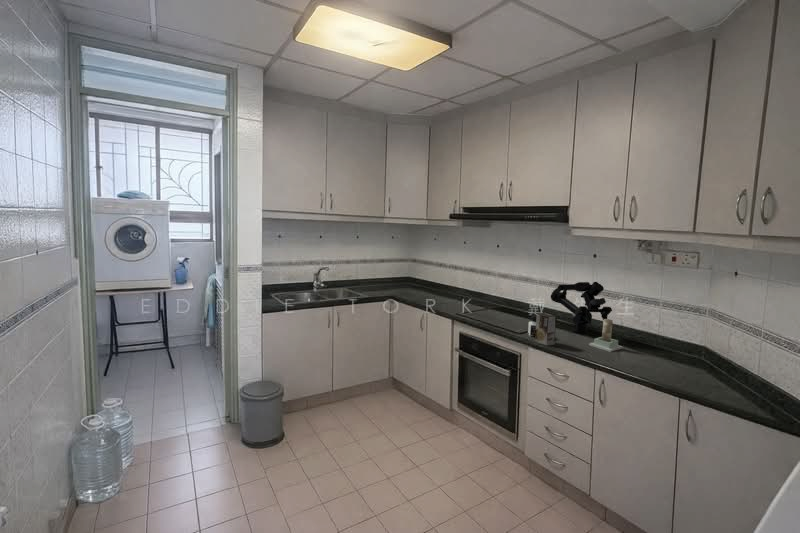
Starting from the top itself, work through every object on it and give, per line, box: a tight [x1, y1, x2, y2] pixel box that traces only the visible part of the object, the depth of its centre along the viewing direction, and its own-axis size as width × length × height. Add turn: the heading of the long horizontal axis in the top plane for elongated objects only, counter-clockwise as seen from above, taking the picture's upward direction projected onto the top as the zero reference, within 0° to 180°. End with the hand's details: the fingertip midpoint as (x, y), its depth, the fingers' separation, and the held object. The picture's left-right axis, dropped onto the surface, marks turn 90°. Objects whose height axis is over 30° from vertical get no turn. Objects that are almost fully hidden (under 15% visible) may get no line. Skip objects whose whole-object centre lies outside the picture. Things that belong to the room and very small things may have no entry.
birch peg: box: [601, 318, 614, 342], centre depth 217 cm, size 4×4×14 cm
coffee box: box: [534, 312, 558, 346], centre depth 221 cm, size 9×6×16 cm
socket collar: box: [588, 336, 624, 353], centre depth 218 cm, size 12×12×4 cm
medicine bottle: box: [527, 314, 537, 337], centre depth 235 cm, size 7×7×12 cm
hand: (598, 323), depth 226 cm, fingers open, 9 cm apart
